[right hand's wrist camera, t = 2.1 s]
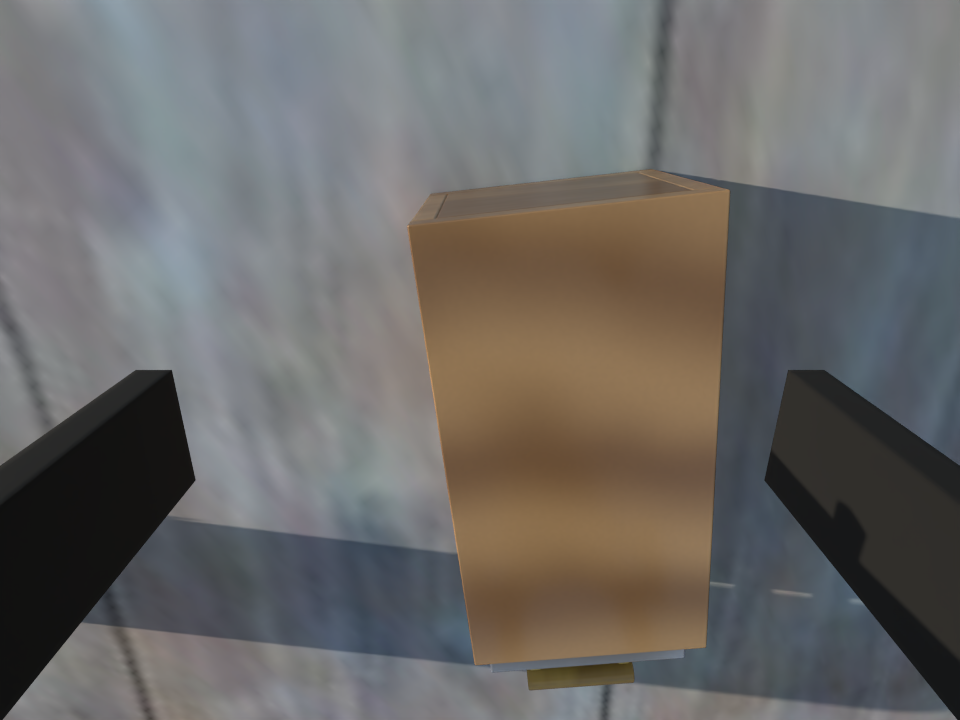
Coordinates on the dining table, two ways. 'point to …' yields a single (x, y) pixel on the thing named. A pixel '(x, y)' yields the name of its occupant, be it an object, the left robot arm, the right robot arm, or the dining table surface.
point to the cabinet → (578, 406)
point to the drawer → (583, 669)
